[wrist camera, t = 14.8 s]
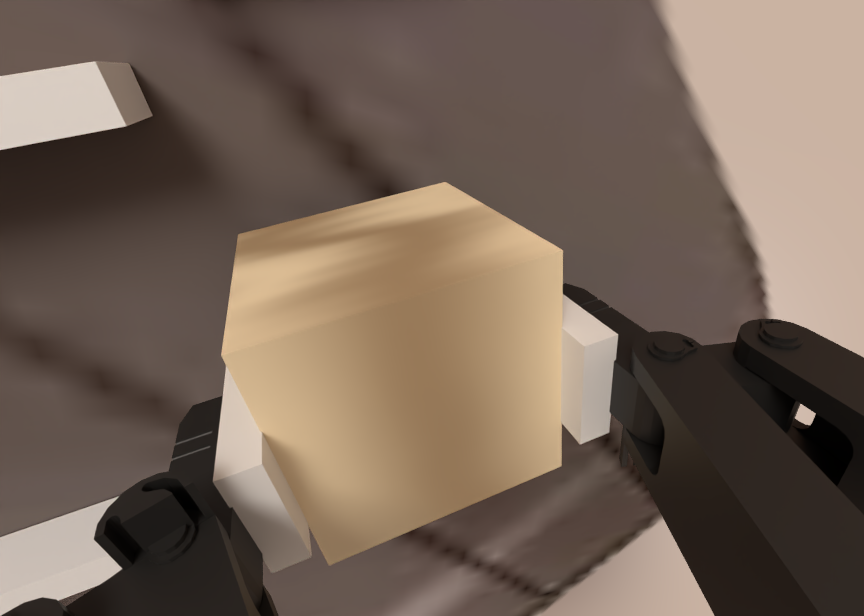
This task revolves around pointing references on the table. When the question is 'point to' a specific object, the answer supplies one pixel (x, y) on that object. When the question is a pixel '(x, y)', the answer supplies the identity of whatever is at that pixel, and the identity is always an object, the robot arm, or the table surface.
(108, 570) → the guide rails
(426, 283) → the maple block
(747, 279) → the table surface
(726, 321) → the table surface
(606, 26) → the table surface
